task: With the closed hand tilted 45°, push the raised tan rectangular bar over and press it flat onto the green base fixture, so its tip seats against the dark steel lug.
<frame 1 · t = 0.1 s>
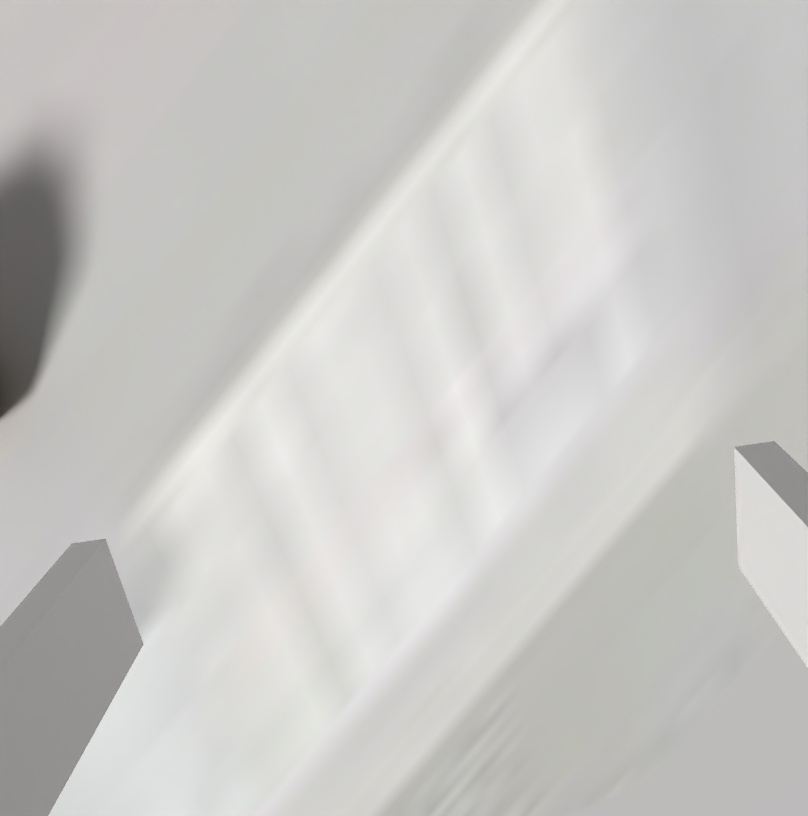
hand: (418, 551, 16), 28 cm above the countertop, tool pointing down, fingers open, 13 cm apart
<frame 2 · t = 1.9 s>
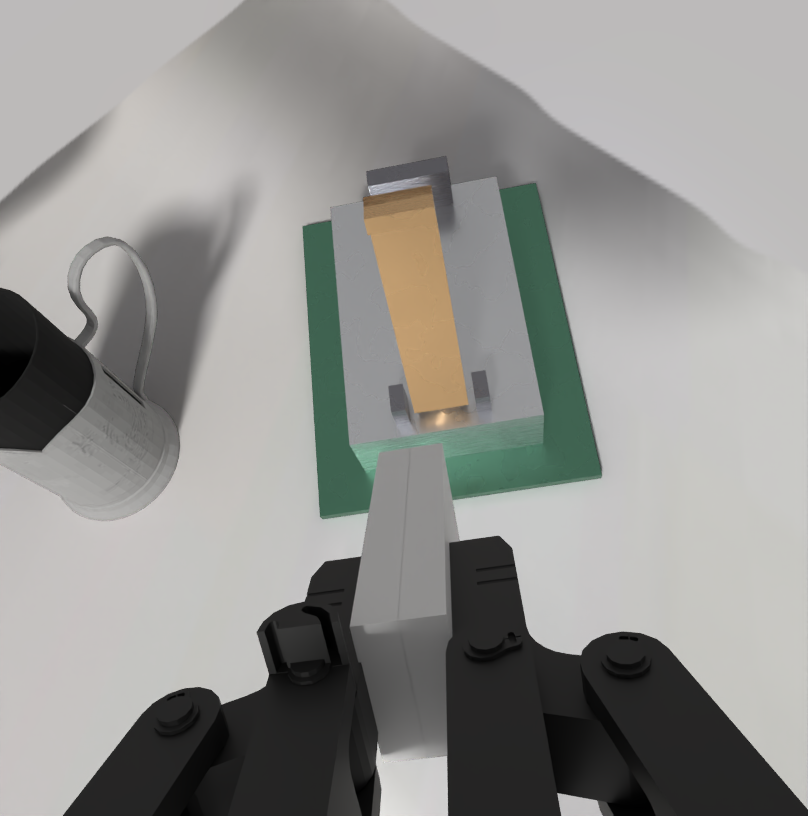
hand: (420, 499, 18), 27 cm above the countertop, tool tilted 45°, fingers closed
green base fixture: (437, 341, 51), on the countertop
tan rectangular bar: (423, 319, 38), point 12 cm above the countertop, hinge at 70.0°
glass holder: (144, 425, 52), on the countertop
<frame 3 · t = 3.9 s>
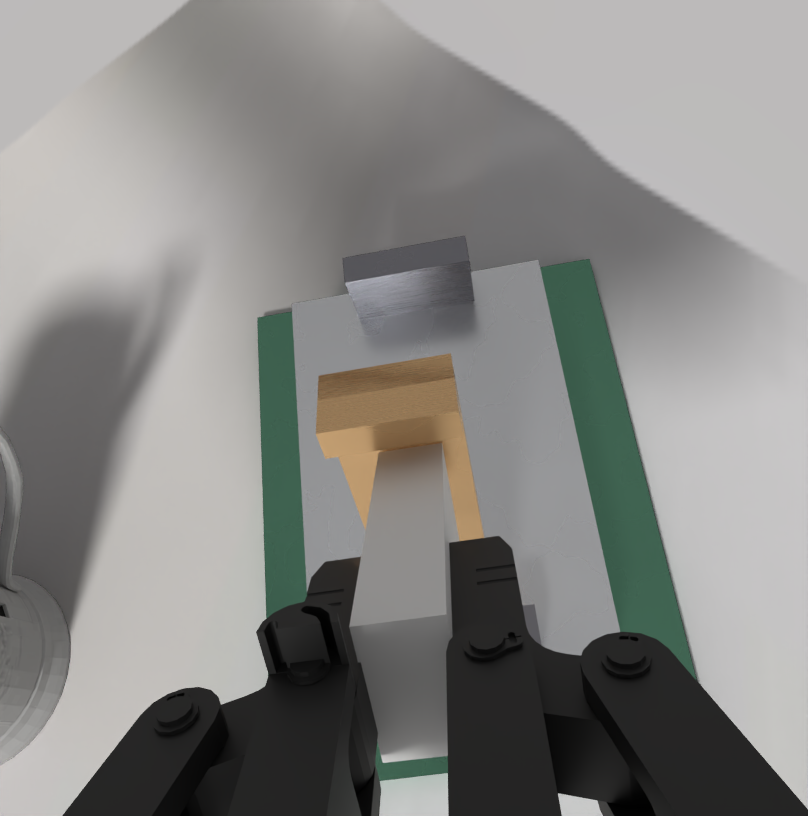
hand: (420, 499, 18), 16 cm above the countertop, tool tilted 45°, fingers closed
green base fixture: (449, 499, 34), on the countertop
tan rectangular bar: (432, 557, 21), point 12 cm above the countertop, hinge at 69.4°, touching gripper
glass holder: (22, 619, 35), on the countertop
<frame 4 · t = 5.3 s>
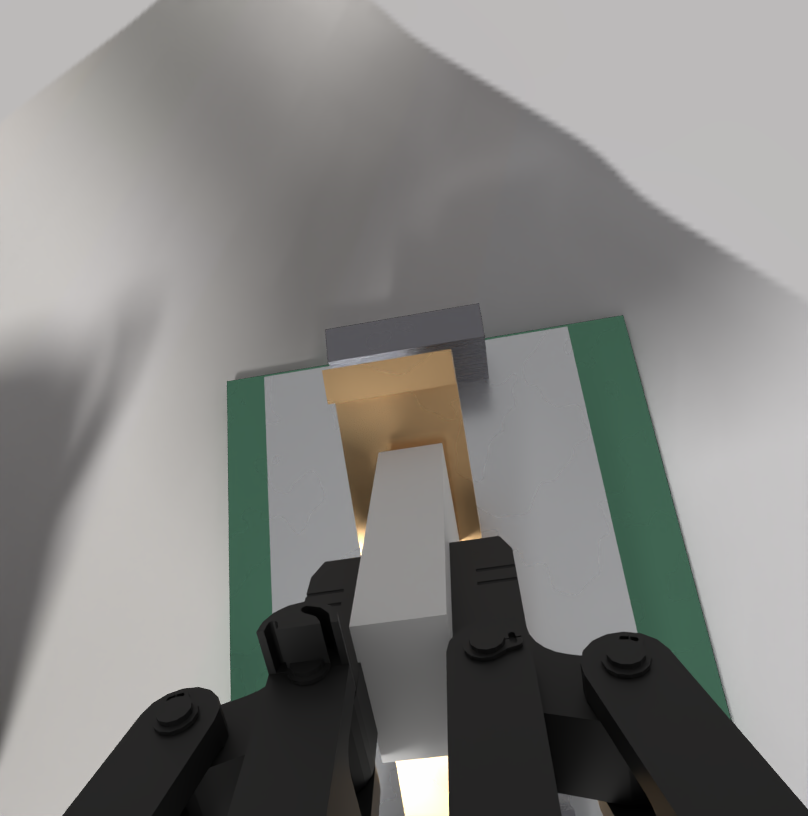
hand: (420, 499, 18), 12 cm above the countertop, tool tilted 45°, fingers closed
green base fixture: (457, 615, 28), on the countertop
tan rectangular bar: (435, 629, 19), point 9 cm above the countertop, hinge at 27.5°, touching gripper
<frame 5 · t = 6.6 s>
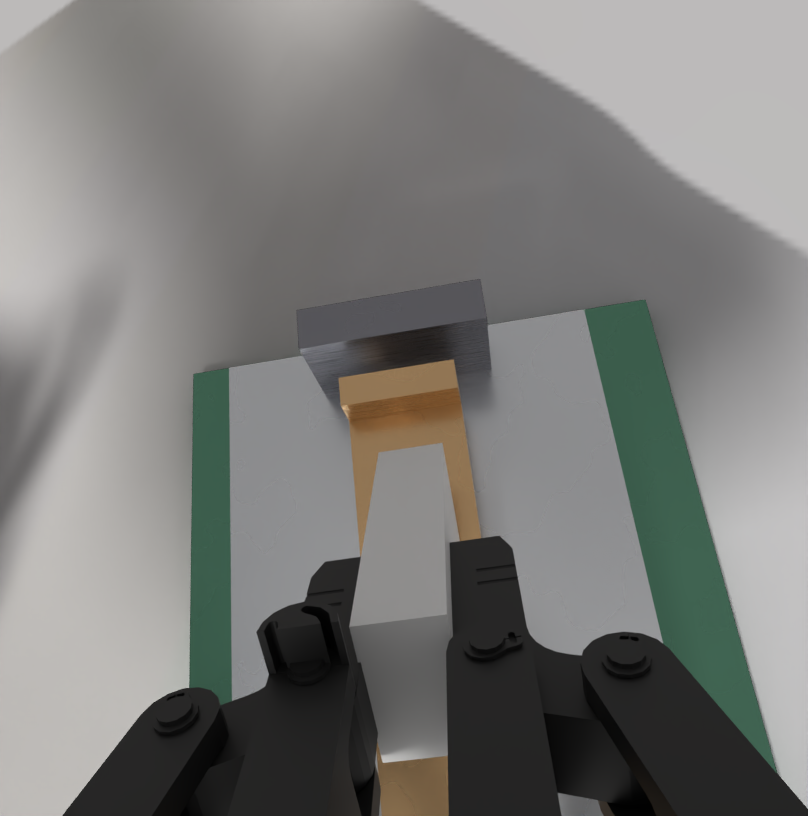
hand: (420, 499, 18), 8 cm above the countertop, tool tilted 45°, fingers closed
green base fixture: (453, 646, 24), on the countertop
tan rectangular bar: (432, 648, 18), point 7 cm above the countertop, hinge at 0.7°, touching gripper
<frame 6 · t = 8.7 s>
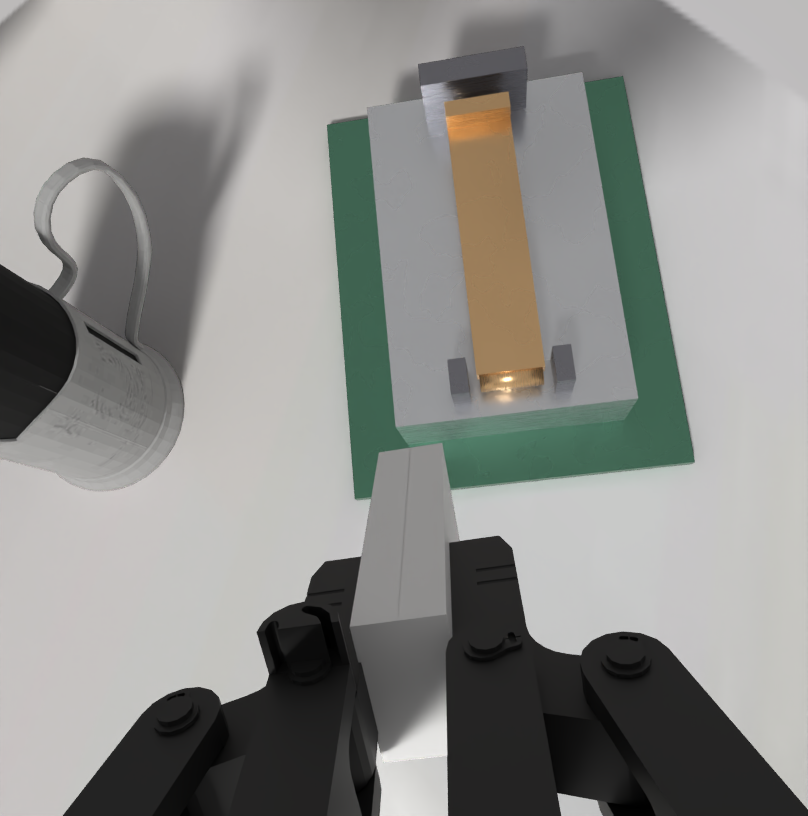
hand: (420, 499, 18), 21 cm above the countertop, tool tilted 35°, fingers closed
green base fixture: (494, 282, 42), on the countertop
tan rectangular bar: (493, 242, 35), point 7 cm above the countertop, hinge at 0.7°
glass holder: (141, 375, 43), on the countertop
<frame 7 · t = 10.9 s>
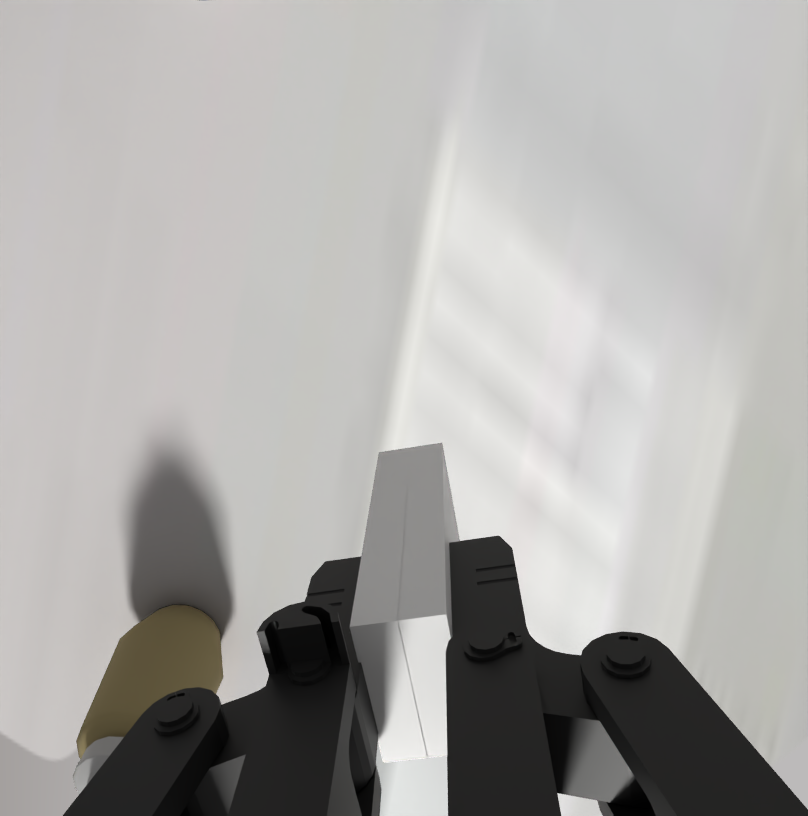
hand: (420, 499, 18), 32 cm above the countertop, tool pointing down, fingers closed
squeeze bottle: (184, 633, 59), on the countertop
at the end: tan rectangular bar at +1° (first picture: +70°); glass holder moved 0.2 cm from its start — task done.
